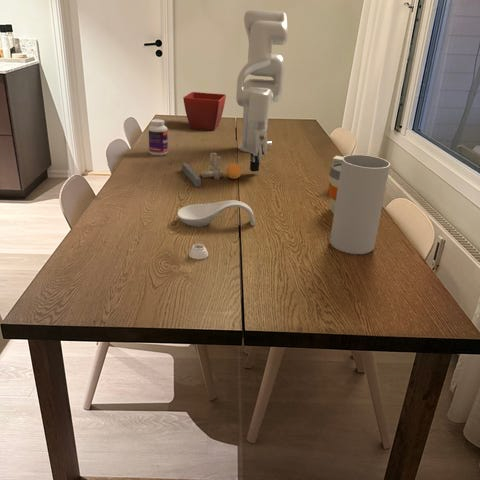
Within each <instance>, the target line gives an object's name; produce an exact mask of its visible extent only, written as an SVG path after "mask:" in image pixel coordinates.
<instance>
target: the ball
mask: <svg viewBox="0 0 480 480" xmlns="http://www.w3.org/2000/svg"><path fill="white" fill-rule="evenodd" d="M225 172H226V175H227V176H228V177H229V178H230V179H232V180H236V179H238V178H240V177H241V175H242V173H243V169H242V167H241V165H239V164H238V163H236V162H235V163H234V162H233V163H230V164H228V165H227V167H226V171H225Z"/></svg>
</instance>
